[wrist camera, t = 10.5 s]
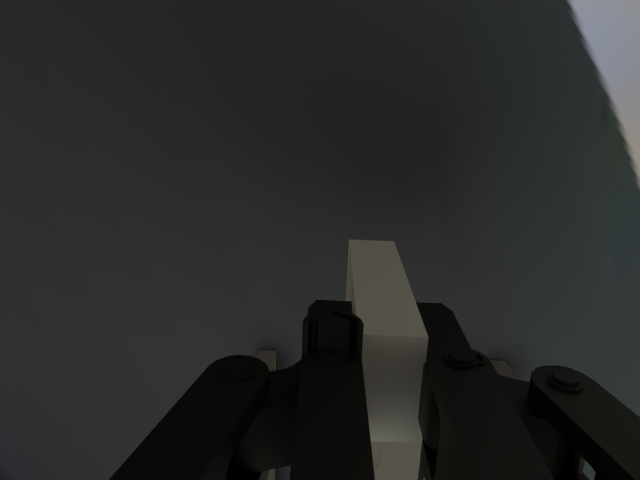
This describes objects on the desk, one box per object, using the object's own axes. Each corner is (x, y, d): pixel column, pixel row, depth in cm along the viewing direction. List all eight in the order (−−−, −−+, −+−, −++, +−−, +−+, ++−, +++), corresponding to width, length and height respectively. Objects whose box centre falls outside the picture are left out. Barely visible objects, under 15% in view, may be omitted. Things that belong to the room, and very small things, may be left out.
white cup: (493, 382, 30) (561, 524, 20) (439, 488, 32) (477, 660, 23) (363, 338, 30) (370, 462, 20) (318, 448, 32) (304, 606, 22)
